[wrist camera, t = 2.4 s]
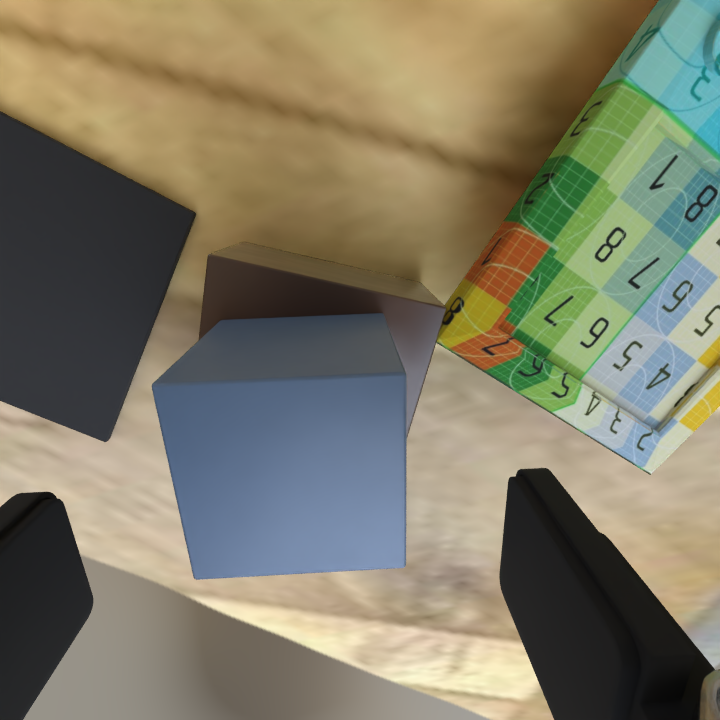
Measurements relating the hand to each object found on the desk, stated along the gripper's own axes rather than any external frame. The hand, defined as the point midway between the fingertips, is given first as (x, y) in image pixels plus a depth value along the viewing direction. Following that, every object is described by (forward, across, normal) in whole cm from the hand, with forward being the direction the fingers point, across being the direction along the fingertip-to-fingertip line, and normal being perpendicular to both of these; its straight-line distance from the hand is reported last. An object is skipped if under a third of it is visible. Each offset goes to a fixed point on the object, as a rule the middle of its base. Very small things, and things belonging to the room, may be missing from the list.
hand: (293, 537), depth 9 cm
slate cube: (+7, 0, 0) cm, 7 cm away
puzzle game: (+12, -15, -7) cm, 20 cm away
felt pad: (+12, +14, -5) cm, 19 cm away
